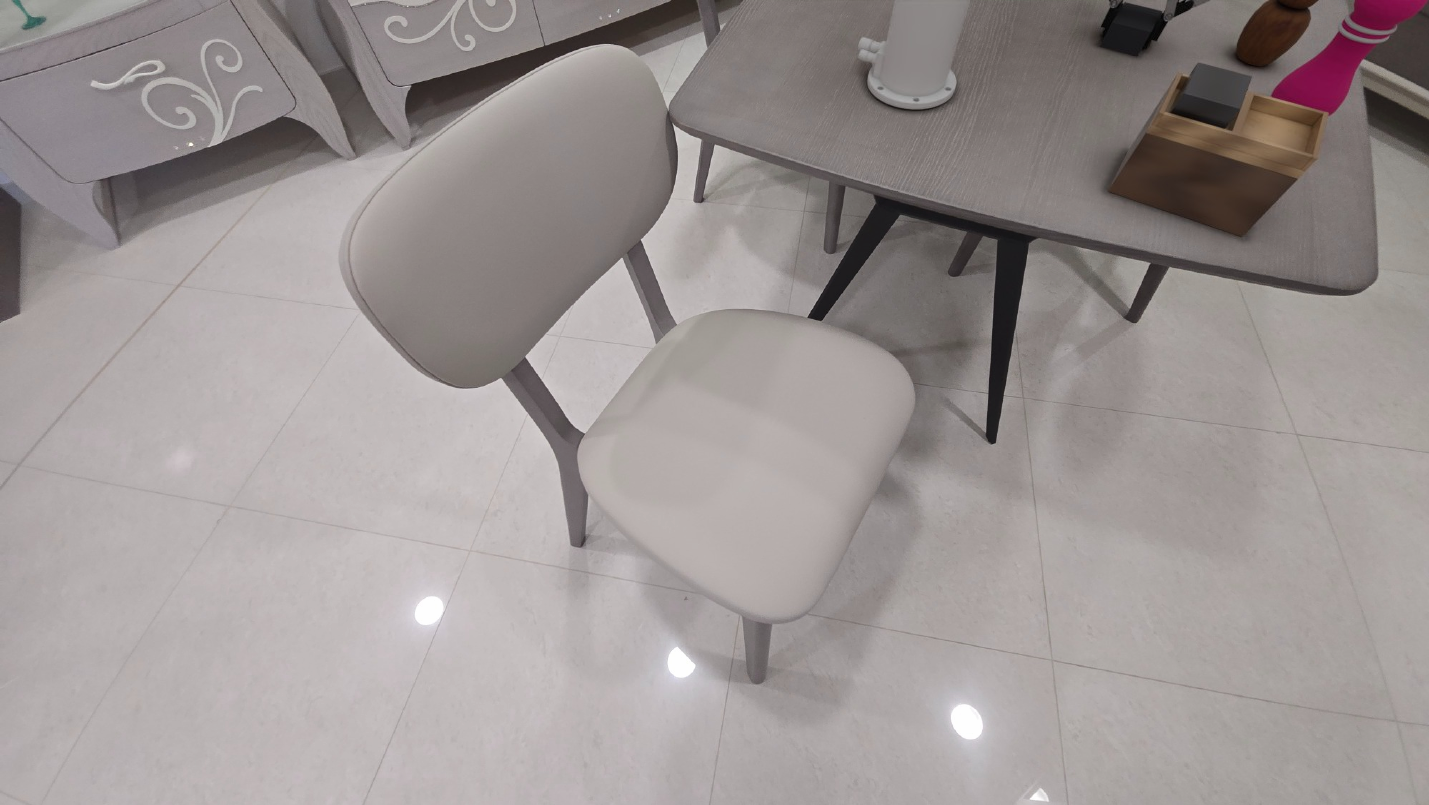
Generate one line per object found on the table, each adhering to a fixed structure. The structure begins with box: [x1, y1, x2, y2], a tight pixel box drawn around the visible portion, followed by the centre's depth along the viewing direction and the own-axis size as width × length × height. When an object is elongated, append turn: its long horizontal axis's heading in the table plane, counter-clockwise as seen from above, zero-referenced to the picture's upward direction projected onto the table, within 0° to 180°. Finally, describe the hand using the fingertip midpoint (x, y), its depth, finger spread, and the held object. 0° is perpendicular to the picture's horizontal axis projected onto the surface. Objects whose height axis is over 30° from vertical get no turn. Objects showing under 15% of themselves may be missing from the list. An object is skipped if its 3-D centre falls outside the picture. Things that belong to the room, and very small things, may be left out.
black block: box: [1099, 1, 1164, 57], centre depth 90 cm, size 6×7×4 cm
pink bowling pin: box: [1270, 0, 1429, 117], centre depth 70 cm, size 7×7×20 cm
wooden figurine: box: [1235, 0, 1319, 67], centre depth 81 cm, size 7×6×15 cm
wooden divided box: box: [1107, 62, 1329, 237], centre depth 68 cm, size 15×9×12 cm, turn 56°
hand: (1126, 37), depth 91 cm, fingers closed on black block, 5 cm apart
